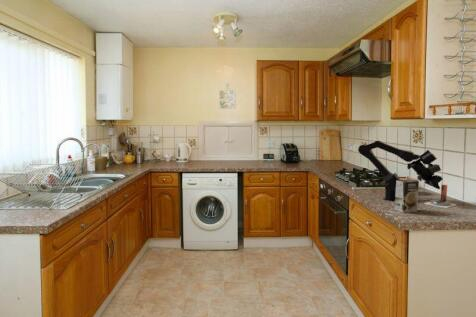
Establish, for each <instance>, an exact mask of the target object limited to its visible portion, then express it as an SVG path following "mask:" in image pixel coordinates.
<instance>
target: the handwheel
mask: <svg viewBox="0 0 476 317" xmlns="http://www.w3.org/2000/svg"><path fill="white" fill-rule="evenodd" d="M447 193H448V185H447V184H441V186H440V199H431V200H429V202H430V203H433V204H437V205H451V201H449V200H447V195H448V194H447Z"/></svg>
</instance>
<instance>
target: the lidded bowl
mask: <svg viewBox="0 0 476 317" xmlns="http://www.w3.org/2000/svg"><path fill="white" fill-rule="evenodd" d="M400 180H414V181H419V180H418V179H417V178H412V177H411V178H410V177H409V176H406V177H400Z"/></svg>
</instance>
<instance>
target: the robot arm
mask: <svg viewBox="0 0 476 317" xmlns="http://www.w3.org/2000/svg"><path fill="white" fill-rule="evenodd" d="M357 148H358V149H357V150H358V153H359V154H360V155H362V156H363V157H365V158H366V159H368V160H369V161H370V163H371V164H372V165H373V166H374V167H375V168H376V170H378V171H379V172H380V174H382V175H383V177H384V178H385V180H386V183H387V184H385V186H384V188H385V194H384V195H385V196H384V197H383V198H382V199H383V200H386V201H391V202H395V195H396V180H400V178H401V177H400V176H398V174H397V173H396V172H394V173H392V172H391V171H390V170H389V169H388V168H387V167H386V166H385V165H384V164H383V163H382V161H380V159H379V158H378V157H377V156H376V155H375V153H374V152H373V150H374V149H376V148H377V149H380V150H382V151H385V152H387V153H391V154H393V155H395V156H396V157H399V158H400V159H401V160H402V161H405V162H407V166H406V168H407V170H410V169H412V170H413V171H414V172H415V173H416V175H417V177H416V179H417V180H418V181H419V182H422V181H424V182H423V183H424V184H425V185H427V186H430V187H432V188H435V189H437V190H441V186H440V185H439V183H441V181H442V180H443V177H442V176H441V175H437V174H435V173H437V172H441V171H442V169H441V166H440V165H439V164H434V163H433V162H435V161H436V160H438V158H437V157H436V156H435V154H434V153H432V152H431V151H430V150H429V149H427V150H426V151H425V152H423V153H422V154H417V153H416V154H415V153H414V152H413V151H410V150H406V149H401V148H398V147H395V146H393V145H390V144H387V143H385V142H383V141H381V140H376V141H374V142H370V143H368V144H365V143H363V144H360V145H359V146H358V147H357ZM425 165H427V166H425Z"/></svg>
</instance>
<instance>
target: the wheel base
mask: <svg viewBox="0 0 476 317" xmlns="http://www.w3.org/2000/svg"><path fill="white" fill-rule="evenodd" d="M423 204H424V205H427V206H433V207H438V208H442V209H447V208H452V207H455V206H457V204H456V203H451V205H437V204H433V203H430V201H427V202H424V203H423Z"/></svg>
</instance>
